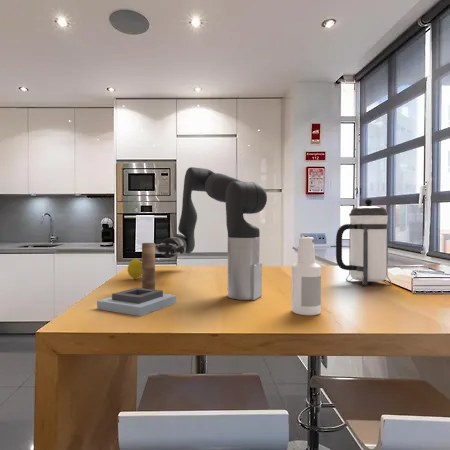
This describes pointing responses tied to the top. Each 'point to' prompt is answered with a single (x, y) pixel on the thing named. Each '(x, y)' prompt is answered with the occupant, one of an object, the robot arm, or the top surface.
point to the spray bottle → (306, 280)
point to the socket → (136, 301)
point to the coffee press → (366, 244)
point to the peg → (148, 266)
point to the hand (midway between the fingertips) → (159, 251)
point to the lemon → (135, 268)
